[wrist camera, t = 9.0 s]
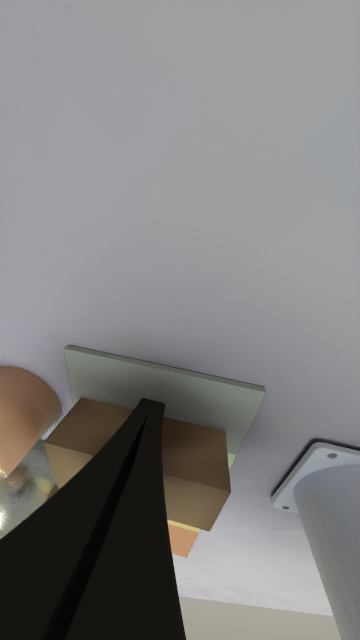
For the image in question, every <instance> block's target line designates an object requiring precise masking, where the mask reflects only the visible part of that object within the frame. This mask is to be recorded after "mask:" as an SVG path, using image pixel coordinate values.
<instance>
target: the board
mask: <svg viewBox="0 0 360 640" xmlns="http://www.w3.org/2000/svg"><path fill="white" fill-rule="evenodd" d="M63 349H64V355H65V361H66V367H67V372H68V378H69V384H70V390H71V395H72V401H73V406H74V405H75V404H76V403H77V402H78V400H79V399H80V398H81V397H82V398H86V399H91V400H95V401H99V402H103V403H108V404H112V405H116V406H120V407H124V408H129V409H133V410H134V409H135V407H136V406H137V404H138V403H139V401H140V400H141V399H142V398H146V399H150V400H154V401H159V402H163V403H164V404H165V411H164V417H166V418H171V419H175V420H179V421H183V422H187V423H192V424H196V425H200V426H204V427H208V428H213V429H217V430H221V431H225V433H226V443H227V454H228V465H229V469H230V467H231V465H232V463H233V461H234V459H235V457H236V455H237V453H238V450H239V448H240V446H241V444H242V442H243V440H244V438H245V436H246V434H247V432H248V430H249V428H250V426H251V423H252V421H253V419H254V417H255V415H256V413H257V411H258V409H259V407H260V405H261V403H262V401H263V399H264V397H265V394H266V390H265V388H264V387H262V386H257V385H252V384H248V383H243V382H238V381H234V380H229V379H224V378H220V377H215V376H210V375H206V374H201V373H197V372H192V371H187V370H183V369H178V368H173V367H169V366H164V365H159V364H155V363H150V362H145V361H141V360H136V359H131V358H127V357H122V356H117V355H113V354H108V353H103V352H99V351H94V350H90V349H85V348H80V347H76V346H71V345H67V346H66V347H65V348H63ZM167 521H168V528H169V536H170V543H171V551H172V553H173V554H176V555H180V556H183V557H186V558H187V556H188V554H189V552H190V550H191V548H192V546H193V544H194V542H195V540H196V538H197V536H198V533H199V531H200V529H199V528H195V527H192V526H188V525H185V524H181V523H178V522H174V521H171V520H167Z"/></svg>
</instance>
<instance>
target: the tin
mask: <svg viewBox="0 0 360 640" xmlns="http://www.w3.org/2000/svg"><path fill="white" fill-rule="evenodd" d="M56 484H57V483H56V480H55V477H54V474H53V470H52V467H51V464H50V461H49V458H48V455H47V452H46V449H45V446H44V440H41V439H40V440H39V441H38V442H37V443H36V444H35V446H34V447H33V448H32V449H31V450H30V451H29V452H28V454H27V455H26V456H25V457H24V458H23V459H22V461H21V462H20V463H19V464H18V465H17V466H16V468H15V469H14V470H13V471H12V472H11V473H10V474H9V476H8V477H7V478H5V479H1V480H0V539H1V538H2V537H4V536H5V535H6V534H8V533H9V532H10V531H11V530H12V529H14V528H15V527H16V526H17V525H19V524H20V523H21V522H22V521H23V520H24V519H26V518H27V517H28V516H29V515H30V514H32V513H33V512H34V511H35V510H36V509H37V508H39V507H40V506H41V505H42V504H43V503H45V501H46V500H47V498H48V497H49V495H50V494H51V492H52V490H53V489H54V487H55V486H56Z"/></svg>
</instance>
